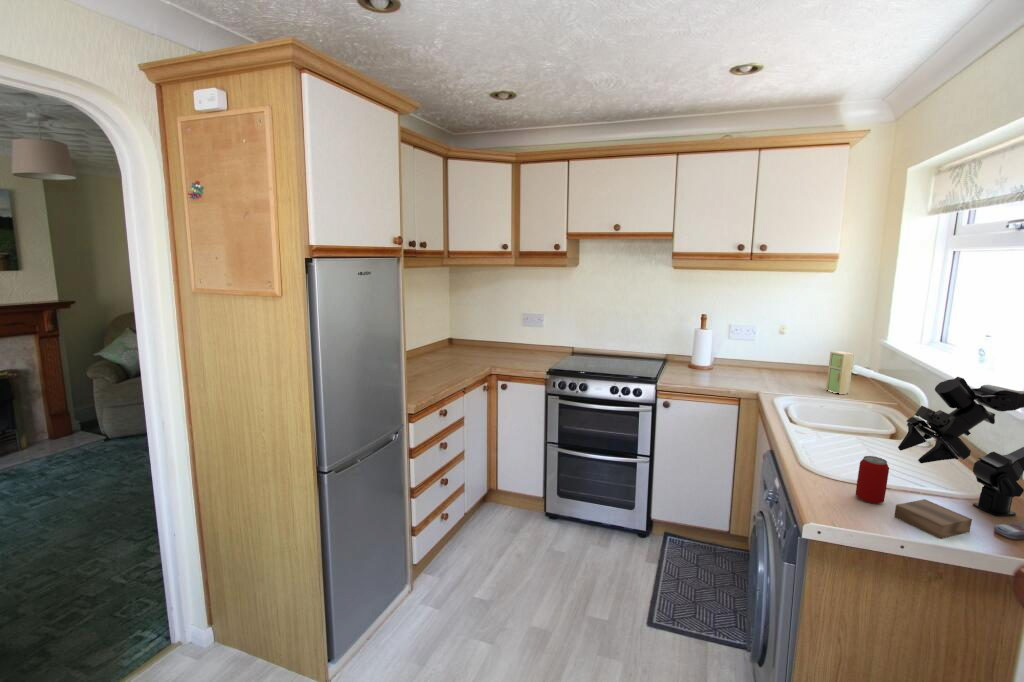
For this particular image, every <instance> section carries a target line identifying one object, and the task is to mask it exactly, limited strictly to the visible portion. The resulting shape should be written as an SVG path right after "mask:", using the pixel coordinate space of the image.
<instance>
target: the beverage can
mask: <svg viewBox="0 0 1024 682" xmlns="http://www.w3.org/2000/svg"><path fill="white" fill-rule="evenodd" d="M858 466H859V467H858V473H857V479H856V485H855V486H856V487H855V496H856V497H857V498H859V500H860V501H863V502H865V503H868V504H875V505H877V504H881V503H884V501H885V498H886V492H887V487H888V486H887V485H888V479H889V472H890V467H889V463H888V461H887V460H886V459H884V458H883V457H882V458H881V457H878V456H874V455H873V456H872V455H864V456H863V458H861V460H860V462H859V465H858Z"/></svg>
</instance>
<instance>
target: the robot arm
mask: <svg viewBox="0 0 1024 682" xmlns="http://www.w3.org/2000/svg"><path fill="white" fill-rule="evenodd" d="M934 391H935V393H936V394H937V395H938V396H939V397H940V399H942V401H943V402H944V403H945V404H946V405H947V406H948V408H951V409H954V410H952V411H951V412H949V413H948V412H945V411H943V410H941V409H939V410H936V411H935V410H932V409H931V408H928V407H926V406H923V405H921V406H920V407H919V408H918V409H917V411H916V413H914V416H911V417H909V418H908V419H907V420H906V423H907V424H906V426H907V427H908V429H907V430H908V431H907V433H906V435H905V437H904V438H903V439H902V441H901V442H900V444H899V445H898V446H897V449H898V450H899V451H905V450H907V449H911V448H913V447H915V446H918V445H921V444H924V443H927V440H931V439H932V438H933V439H934V440H935V443H934V444H935V445H934V446H933V447H932V448H930V449H929V450H928V451H927V452H925V453H924V454H923V455H922V456H920V457H919V458H918V459H917V460H918V463H920V464H925V463H926V464H927V463H933V462H939V461H947V460H959V459H960V460H963V461H964V460H965V459H967V458H969V457H970V456H971V454H972V453H971V451H972V450H971V449H970V448H969V446H967V445H966V444H965V442H964V441H963V440H962V438H960V437H961V436H962V435H965V436H967V437H969V435H971V434H972V432H970V430H972V429H973V428H975V427H976V426H978V425H979V424H981V423H982V422H986V423H989V424H991V425H995V424H996V419H995V417H996V413H994V412H991V411H989V410H987V409H986V407H987V408H989V409H992V410H995V411H998V412H1012V411H1017V410H1020V409H1022V408H1023V409H1024V390H1015V389H1009V388H1005V387H1000V386H997V385H992V384H983V385H981V386H980V387H976V388H975V387H973V388H972V387H970V385H969V384H968V383H967V381H966V380H965V378H963V377H960V376H956V377H955V378H952V379H946V380H943V381H940V382H939V383H938V384H937V385H936V386H935V388H934ZM972 473H973V474H974V476H975V477H976V482H977V483H980V485H983V486H982V487H981V491H980V493H979V498H978V502H973V503H972V506H974V507H976V508H978V509H980V510H983V511H985V512H986V513H989V514H991V515H993V516H995V517H1006V516H1017V513H1016V512H1014V511H1012V510H1011V508H1012V502H1013V498H1016V497H1021V496H1022V494H1023V493H1024V488H1023V487H1022V486H1021V484H1020V483H1018V481H1019V480H1020V479H1021V478H1022V476H1023V474H1024V446H1023V447H1021V448H1018V449H1016V450H1014V451H1012V452H1010V453H1007V454H1001V453H998V452H996V451H991V452H989V453H988V454H986V455H984V456H981V457H980V456H979V457H978V460H976V461H975V462H974V463H973V468H972Z"/></svg>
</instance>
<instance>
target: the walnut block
mask: <svg viewBox="0 0 1024 682" xmlns="http://www.w3.org/2000/svg"><path fill="white" fill-rule="evenodd" d="M893 515H894V516H893V517H894V518H896V519H897V518H898V519H897V520H899V519H900V521H901V520H902V521H901V522H903V521H904V523H905V524H908V525H910V526H912V527H914V528H916V529H918V530H920V531H922V532H924V533H926V534H929V535H931V536H933V537H935V538H938V539H939V538H940V539H946V538H950V536H951V537H954V536H958V535H963V534H968V533H970V532H971V526H972V521H973V519H972V518H970V517H968V516H966V515H963V514H961V513H958V512H956V511H953V510H951V509H949V508H947V507H944V506H942V505H940V504H937V503H934V502H932V501H930V500H928V499H924V498H923V499H919V500H915V501H908V502H903V503H898V504H896V505H895V510H894V514H893ZM967 532H968V533H967ZM962 533H963V534H962ZM940 539H939V540H940Z"/></svg>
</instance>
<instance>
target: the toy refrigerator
mask: <svg viewBox="0 0 1024 682" xmlns="http://www.w3.org/2000/svg"><path fill="white" fill-rule="evenodd" d="M854 356H855V355H854V353H852V352H848V351H842V350H832V351H831V350H830V352H829V360H828V361H829V362H828V369H827V370H828V371H827V377H826V378H827V379H826V386H825V387H826V388H825V390H826V389H827V390H831V391H833V392H837V393H846V392H849V393H850V388H851V386H850V385H851V379H852V372H851V368H852V369H853V363H854Z"/></svg>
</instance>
